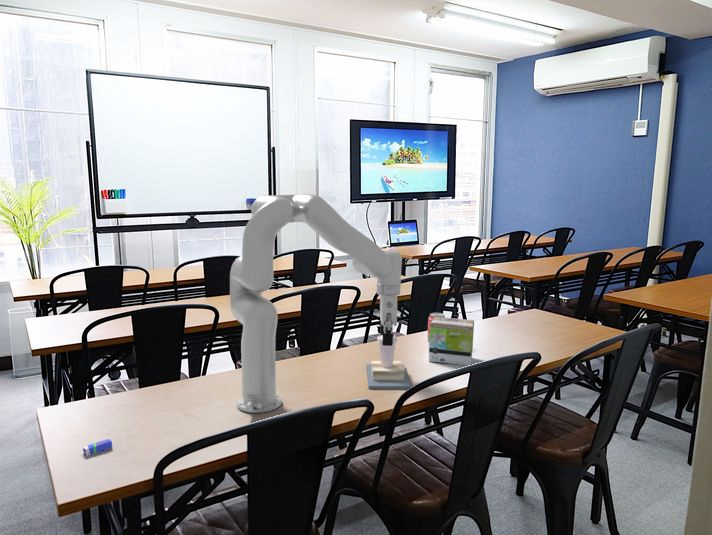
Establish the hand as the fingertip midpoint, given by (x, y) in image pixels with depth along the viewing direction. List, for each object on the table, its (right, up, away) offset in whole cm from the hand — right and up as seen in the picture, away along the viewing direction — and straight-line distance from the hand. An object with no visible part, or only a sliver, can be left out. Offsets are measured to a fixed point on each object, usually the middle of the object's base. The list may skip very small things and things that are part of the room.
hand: (386, 341), depth 176 cm
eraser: (-71, -20, -47) cm, 88 cm away
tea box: (+25, -10, +21) cm, 34 cm away
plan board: (0, -12, +2) cm, 13 cm away
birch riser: (0, -12, +2) cm, 13 cm away
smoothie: (0, -9, +2) cm, 9 cm away
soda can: (+22, -7, +40) cm, 46 cm away
